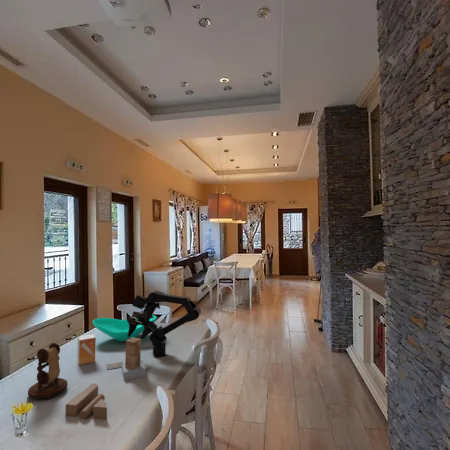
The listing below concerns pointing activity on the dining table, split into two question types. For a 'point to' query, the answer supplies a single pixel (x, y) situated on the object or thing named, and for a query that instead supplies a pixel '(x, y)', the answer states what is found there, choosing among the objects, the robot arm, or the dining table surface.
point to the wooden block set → (87, 404)
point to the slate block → (133, 371)
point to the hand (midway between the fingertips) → (133, 338)
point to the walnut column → (133, 353)
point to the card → (114, 365)
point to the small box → (86, 349)
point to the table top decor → (118, 328)
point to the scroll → (48, 374)
